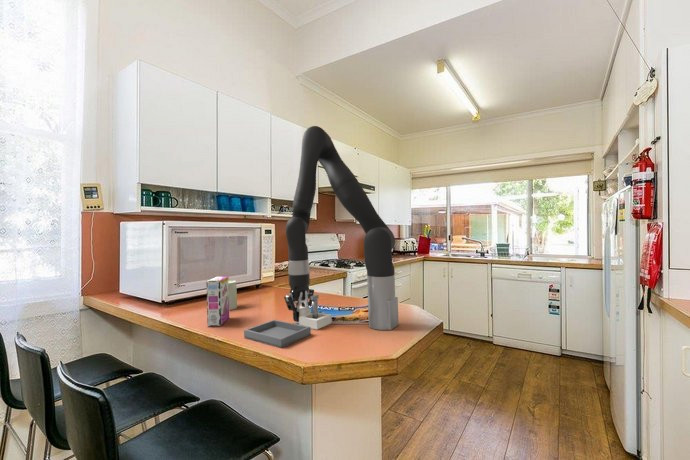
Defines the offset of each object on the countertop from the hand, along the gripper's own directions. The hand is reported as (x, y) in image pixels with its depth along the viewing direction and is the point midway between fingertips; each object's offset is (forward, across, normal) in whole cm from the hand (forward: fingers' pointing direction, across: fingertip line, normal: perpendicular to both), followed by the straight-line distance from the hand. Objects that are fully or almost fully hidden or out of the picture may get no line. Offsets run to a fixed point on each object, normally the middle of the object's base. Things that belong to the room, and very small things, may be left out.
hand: (300, 319), depth 114 cm
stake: (+1, 0, -7) cm, 7 cm away
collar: (+1, 0, -5) cm, 5 cm away
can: (+1, -1, +43) cm, 43 cm away
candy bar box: (+1, -15, +27) cm, 31 cm away
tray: (+1, -15, -4) cm, 16 cm away
